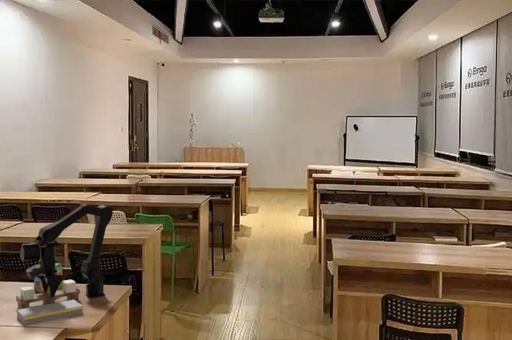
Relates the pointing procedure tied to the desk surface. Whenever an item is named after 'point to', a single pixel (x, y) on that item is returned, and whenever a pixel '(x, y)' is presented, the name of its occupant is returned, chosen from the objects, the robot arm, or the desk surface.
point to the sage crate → (27, 293)
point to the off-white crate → (69, 286)
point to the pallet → (47, 298)
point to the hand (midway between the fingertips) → (48, 294)
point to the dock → (49, 312)
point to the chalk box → (38, 283)
